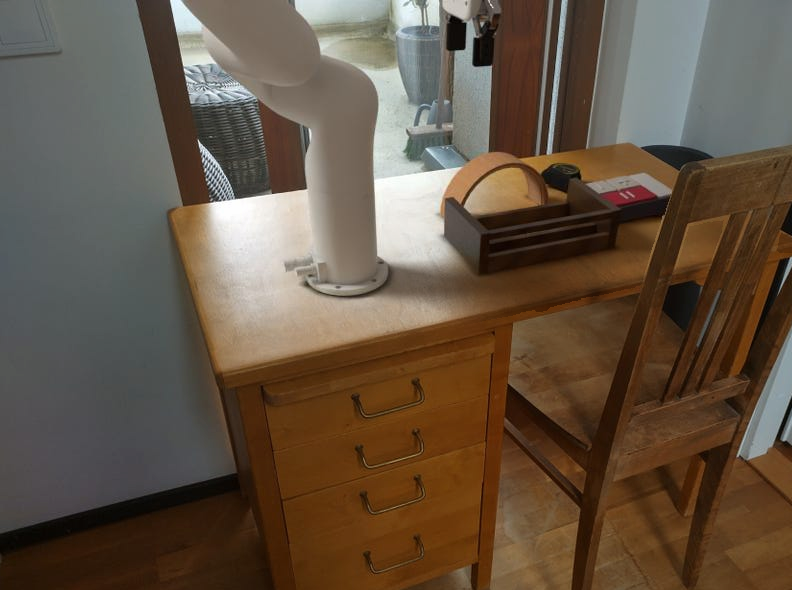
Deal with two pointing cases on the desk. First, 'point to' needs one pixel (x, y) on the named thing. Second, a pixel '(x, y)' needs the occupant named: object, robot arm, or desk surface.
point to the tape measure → (560, 175)
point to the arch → (486, 166)
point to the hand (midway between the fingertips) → (468, 57)
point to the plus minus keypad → (635, 195)
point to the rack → (533, 230)
